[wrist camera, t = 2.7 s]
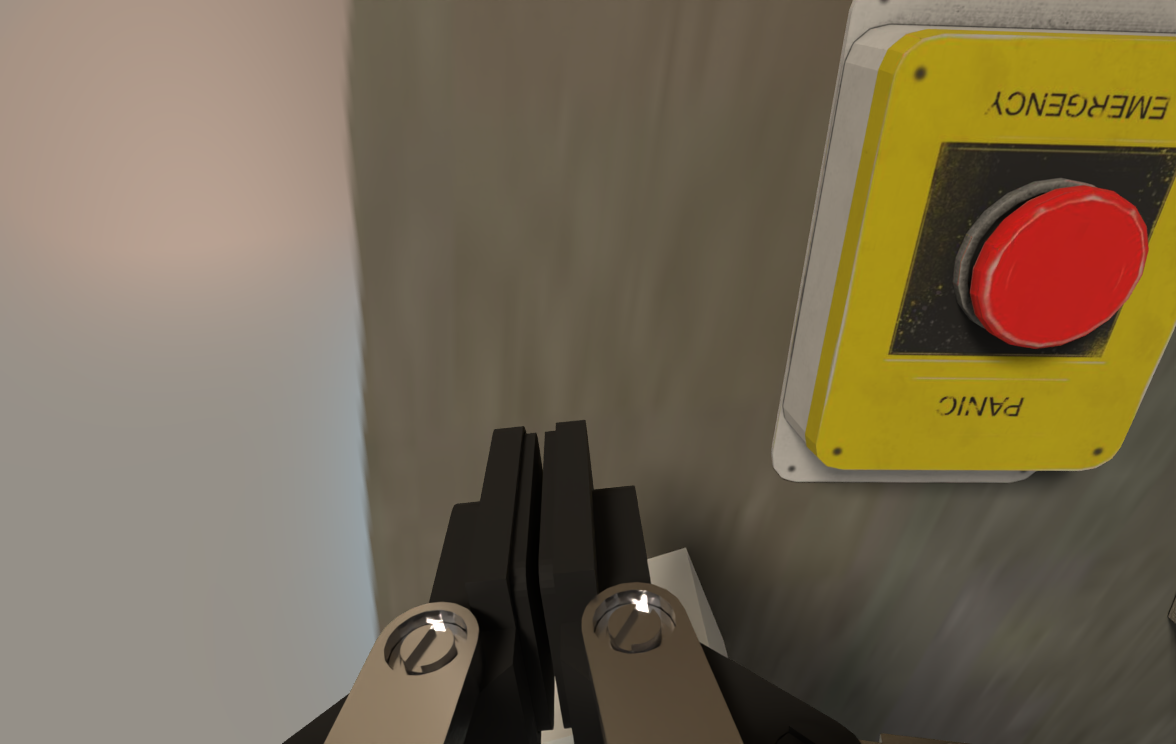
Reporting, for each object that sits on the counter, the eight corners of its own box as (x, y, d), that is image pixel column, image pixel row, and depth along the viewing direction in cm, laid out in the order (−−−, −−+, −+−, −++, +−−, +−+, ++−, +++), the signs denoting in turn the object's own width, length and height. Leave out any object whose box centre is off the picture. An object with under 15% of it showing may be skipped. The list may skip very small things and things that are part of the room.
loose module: (529, 594, 25) (518, 766, 19) (685, 546, 24) (724, 710, 18) (578, 681, 27) (582, 859, 21) (723, 639, 26) (768, 813, 20)
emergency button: (1421, -48, 13) (1118, 560, 19) (1217, -28, 17) (1025, 472, 23) (941, -66, 12) (802, 559, 19) (850, -41, 16) (761, 471, 23)
